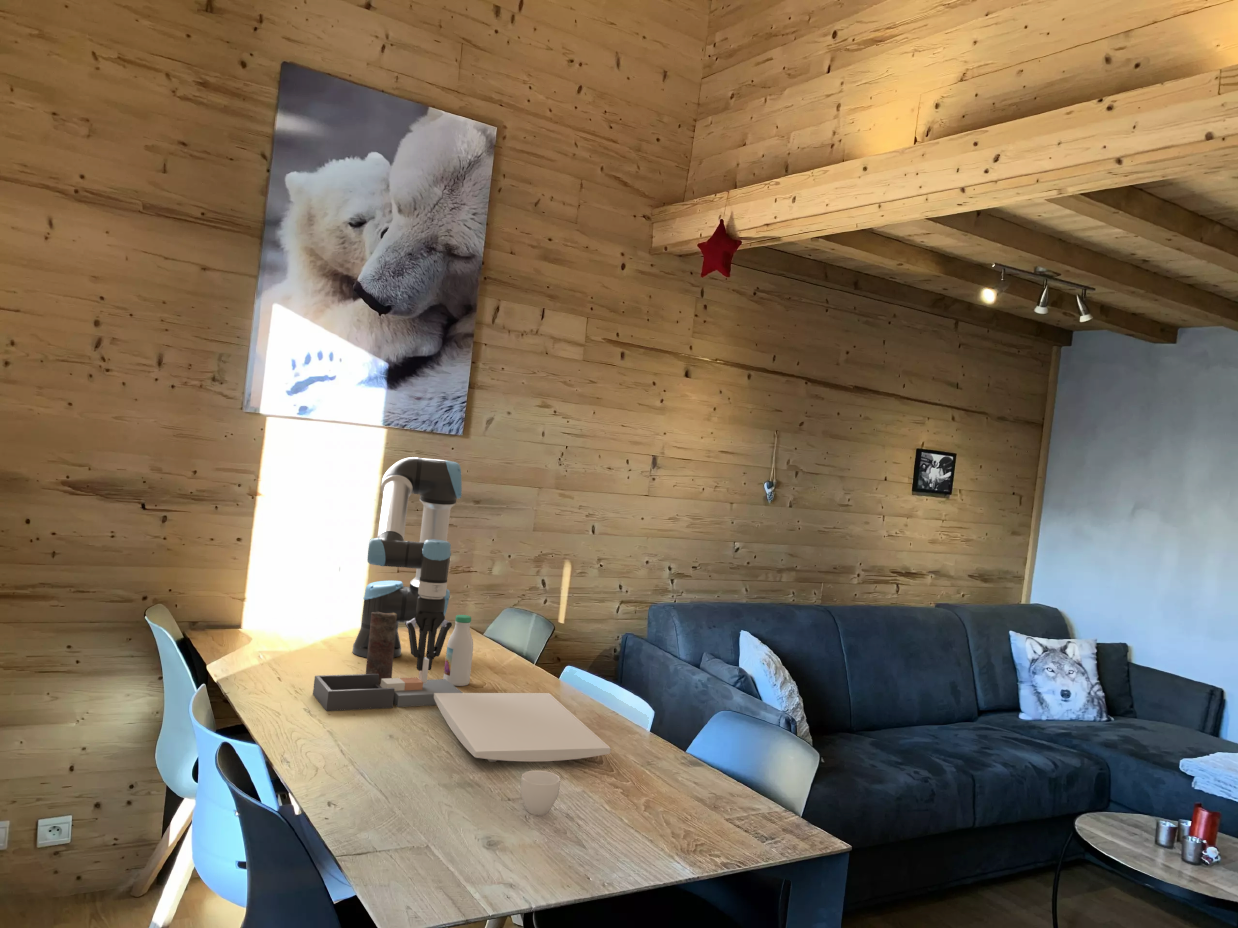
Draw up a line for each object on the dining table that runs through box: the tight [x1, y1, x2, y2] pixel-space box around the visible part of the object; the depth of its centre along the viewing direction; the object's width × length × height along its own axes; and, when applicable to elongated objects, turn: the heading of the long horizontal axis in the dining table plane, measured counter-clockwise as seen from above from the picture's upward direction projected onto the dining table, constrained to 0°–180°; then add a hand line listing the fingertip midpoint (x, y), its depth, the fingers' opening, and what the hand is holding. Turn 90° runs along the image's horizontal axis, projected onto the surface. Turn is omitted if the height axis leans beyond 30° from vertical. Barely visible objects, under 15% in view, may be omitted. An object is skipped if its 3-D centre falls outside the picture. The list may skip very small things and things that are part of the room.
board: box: [434, 692, 612, 763], centre depth 223 cm, size 45×32×5 cm
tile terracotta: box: [399, 677, 423, 690], centre depth 245 cm, size 5×5×2 cm
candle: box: [365, 612, 397, 685], centre depth 259 cm, size 8×7×20 cm
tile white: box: [380, 677, 405, 691], centre depth 243 cm, size 5×5×2 cm
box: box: [312, 673, 395, 712], centre depth 237 cm, size 15×17×5 cm
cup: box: [520, 769, 561, 816], centre depth 180 cm, size 8×10×7 cm
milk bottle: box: [443, 614, 474, 687], centre depth 266 cm, size 8×8×20 cm
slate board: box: [393, 678, 464, 708], centre depth 247 cm, size 14×18×3 cm
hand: (422, 681), depth 247 cm, fingers closed
